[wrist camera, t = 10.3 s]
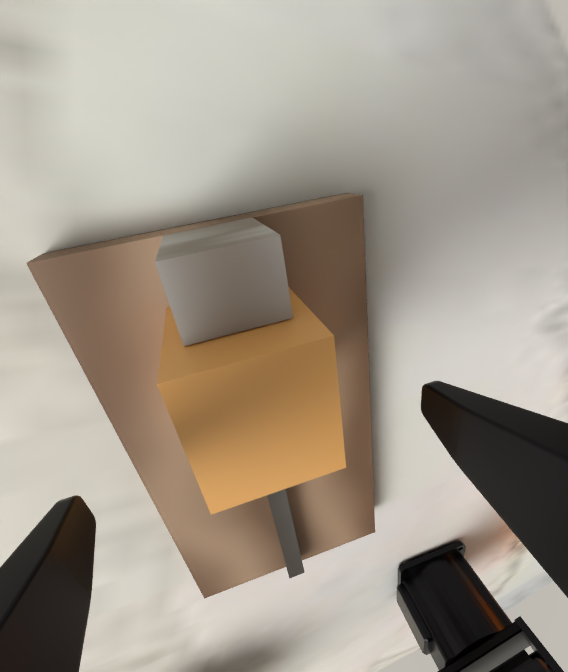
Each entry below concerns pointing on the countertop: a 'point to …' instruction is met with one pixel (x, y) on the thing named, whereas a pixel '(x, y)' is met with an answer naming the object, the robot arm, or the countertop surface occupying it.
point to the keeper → (255, 406)
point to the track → (140, 417)
